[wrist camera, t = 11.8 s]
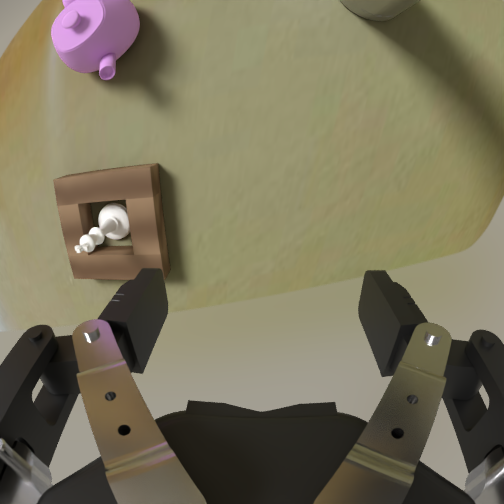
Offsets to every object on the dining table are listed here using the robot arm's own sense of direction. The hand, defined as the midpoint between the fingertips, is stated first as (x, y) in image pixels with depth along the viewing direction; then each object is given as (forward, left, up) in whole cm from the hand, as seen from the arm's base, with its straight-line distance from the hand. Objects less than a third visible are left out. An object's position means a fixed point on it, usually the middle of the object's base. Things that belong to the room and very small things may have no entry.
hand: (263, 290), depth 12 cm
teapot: (-19, -18, -25) cm, 37 cm away
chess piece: (+4, -19, -25) cm, 32 cm away
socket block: (+5, -19, -25) cm, 32 cm away
